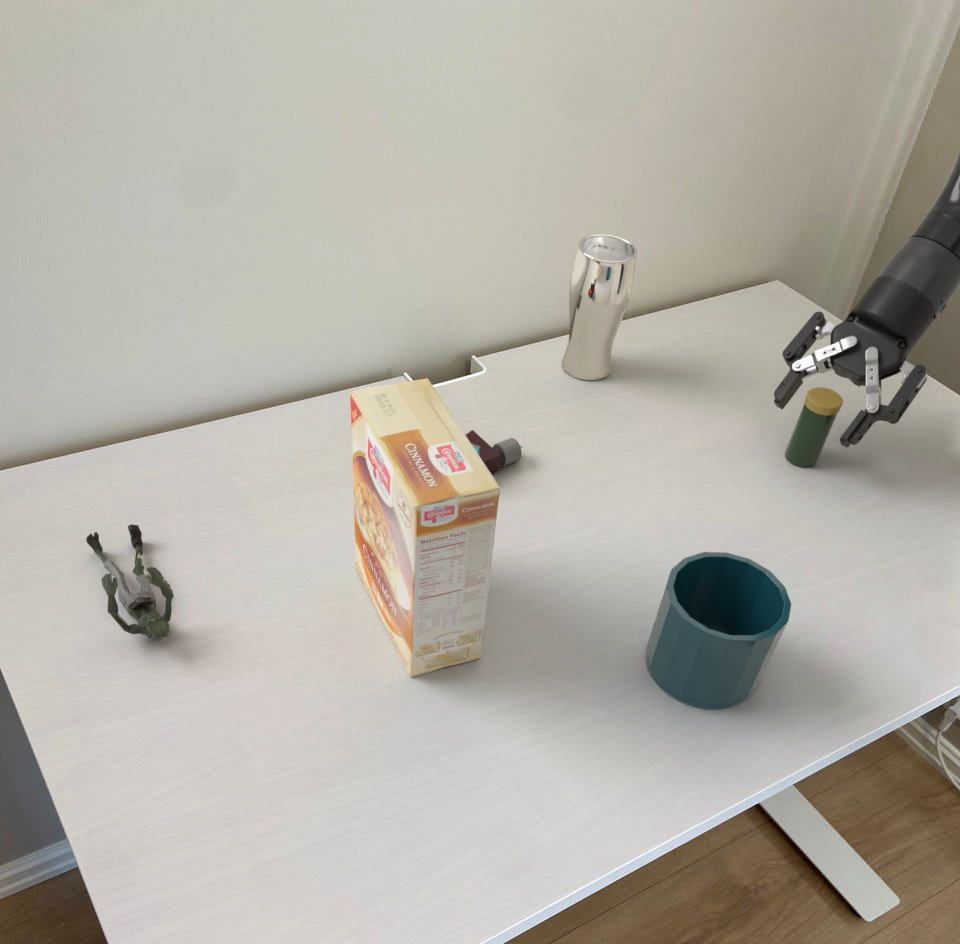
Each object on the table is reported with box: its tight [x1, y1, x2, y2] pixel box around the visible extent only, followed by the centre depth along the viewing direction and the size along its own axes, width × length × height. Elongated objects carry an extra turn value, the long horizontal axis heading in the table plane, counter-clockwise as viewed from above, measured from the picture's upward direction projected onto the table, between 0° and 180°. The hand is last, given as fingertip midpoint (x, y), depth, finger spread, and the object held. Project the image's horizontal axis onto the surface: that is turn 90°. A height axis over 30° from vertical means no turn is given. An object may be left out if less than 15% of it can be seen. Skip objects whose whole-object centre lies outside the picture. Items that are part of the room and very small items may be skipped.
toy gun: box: [465, 429, 524, 475], centre depth 102 cm, size 10×12×5 cm
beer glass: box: [561, 233, 638, 381], centre depth 111 cm, size 7×7×15 cm
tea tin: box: [784, 386, 844, 469], centre depth 105 cm, size 4×4×8 cm
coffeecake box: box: [349, 377, 501, 678], centre depth 81 cm, size 15×7×20 cm, turn 23°
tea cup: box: [645, 551, 792, 710], centre depth 83 cm, size 10×10×9 cm
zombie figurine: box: [85, 523, 175, 641], centre depth 84 cm, size 5×7×15 cm
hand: (809, 424), depth 104 cm, fingers open, 8 cm apart
